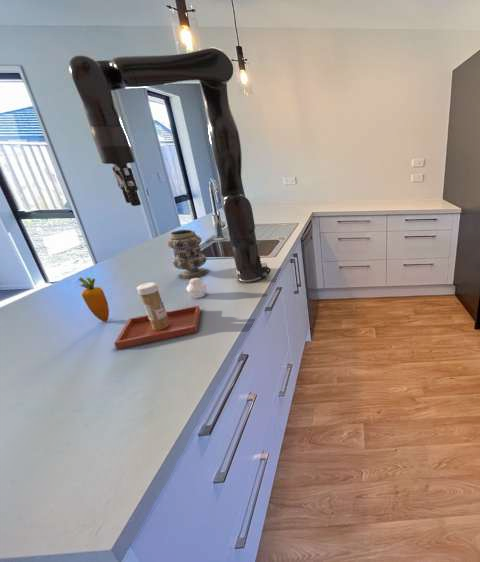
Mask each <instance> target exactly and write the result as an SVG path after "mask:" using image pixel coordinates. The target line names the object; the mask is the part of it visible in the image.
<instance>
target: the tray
mask: <svg viewBox="0 0 480 562" xmlns="http://www.w3.org/2000/svg"><path fill="white" fill-rule="evenodd" d="M166 313H167V316H168V319H169V322H170V325H169V326H168V327H167V328H165V329H162V330H153V328H152V324H151V322H150V320H149V318H148V315H147V314H146V315H142V316H136V317H131V318H128V320H127V321H126V322H125V325H124V326H123V328H122V330H121V331H120V333H119V335H118V336H117V338H116V339H115V341H114V346H115V348H116V350H121V349H126V348H130V347H135V346H139V345H144V344H150V343H154V342H159V341H163V340H167V339H171V338H176V337H181V336H182V337H183V336H185V335H191V334H195V333H197V331H198V327H199V326H198V325H199V322H200V315H201V308H200V305H195V306H189V307H184V308H179V309H178V308H177V309H174V310H173V309H172V310H168V311H167V310H166Z"/></svg>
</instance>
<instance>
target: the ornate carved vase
mask: <svg viewBox="0 0 480 562" xmlns="http://www.w3.org/2000/svg"><path fill="white" fill-rule="evenodd" d="M166 243H167V246H168V247H169V248H171V249H172V251H173V256H174V258H173V261H172V265H173V267H175V268H176V269H179V270H184V271H183V272H181V273H180V275H179V277H180V278H183V279H193V278H198V277H200V276H203V275H205V274H207V272H208V270H207V269H205V268H201V267H202V266H204V265H205V264H206V262H207V256H206V255H205V254H203V253H202V249H201V246H200V244H201V243H202V237H201V236H200V235H198V234H197V233H196V231H195V230H193V229H179V230H174V231H171V232H170V233H169V239H168V240H167V242H166Z"/></svg>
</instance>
